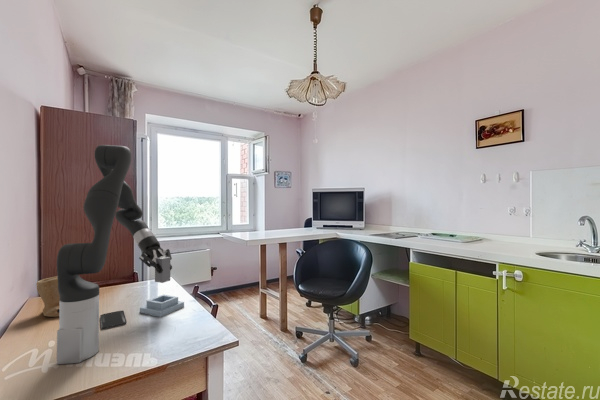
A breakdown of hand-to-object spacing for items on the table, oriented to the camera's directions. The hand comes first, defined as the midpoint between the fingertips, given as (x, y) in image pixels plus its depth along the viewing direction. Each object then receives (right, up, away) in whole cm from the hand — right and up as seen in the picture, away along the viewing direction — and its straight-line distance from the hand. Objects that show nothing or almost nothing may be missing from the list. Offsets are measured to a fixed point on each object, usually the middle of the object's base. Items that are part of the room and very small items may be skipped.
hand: (166, 270), depth 115 cm
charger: (-2, -5, +1) cm, 5 cm away
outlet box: (-2, -17, 0) cm, 17 cm away
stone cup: (-45, -17, -3) cm, 48 cm away
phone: (-15, -17, -10) cm, 25 cm away
